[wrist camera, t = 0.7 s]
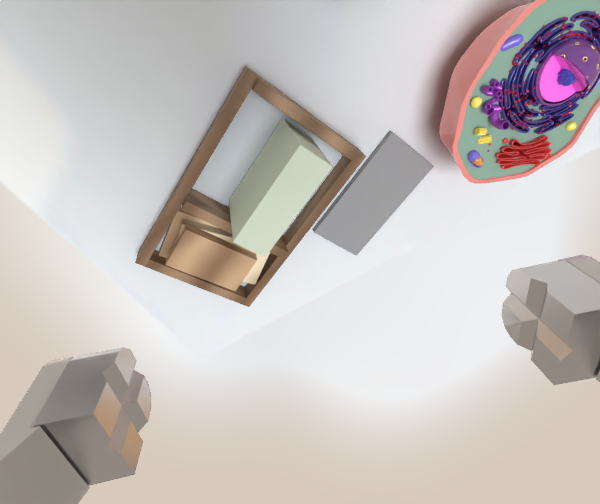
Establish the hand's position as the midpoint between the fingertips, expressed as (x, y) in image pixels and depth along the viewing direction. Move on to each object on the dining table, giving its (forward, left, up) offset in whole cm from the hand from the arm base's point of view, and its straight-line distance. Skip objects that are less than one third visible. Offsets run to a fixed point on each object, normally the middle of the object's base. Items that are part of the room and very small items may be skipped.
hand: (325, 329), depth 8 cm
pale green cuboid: (+9, -7, -38) cm, 39 cm away
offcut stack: (+9, -20, -38) cm, 44 cm away
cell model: (+26, +16, -38) cm, 49 cm away
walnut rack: (+9, -12, -38) cm, 41 cm away
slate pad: (+23, -3, -38) cm, 44 cm away
